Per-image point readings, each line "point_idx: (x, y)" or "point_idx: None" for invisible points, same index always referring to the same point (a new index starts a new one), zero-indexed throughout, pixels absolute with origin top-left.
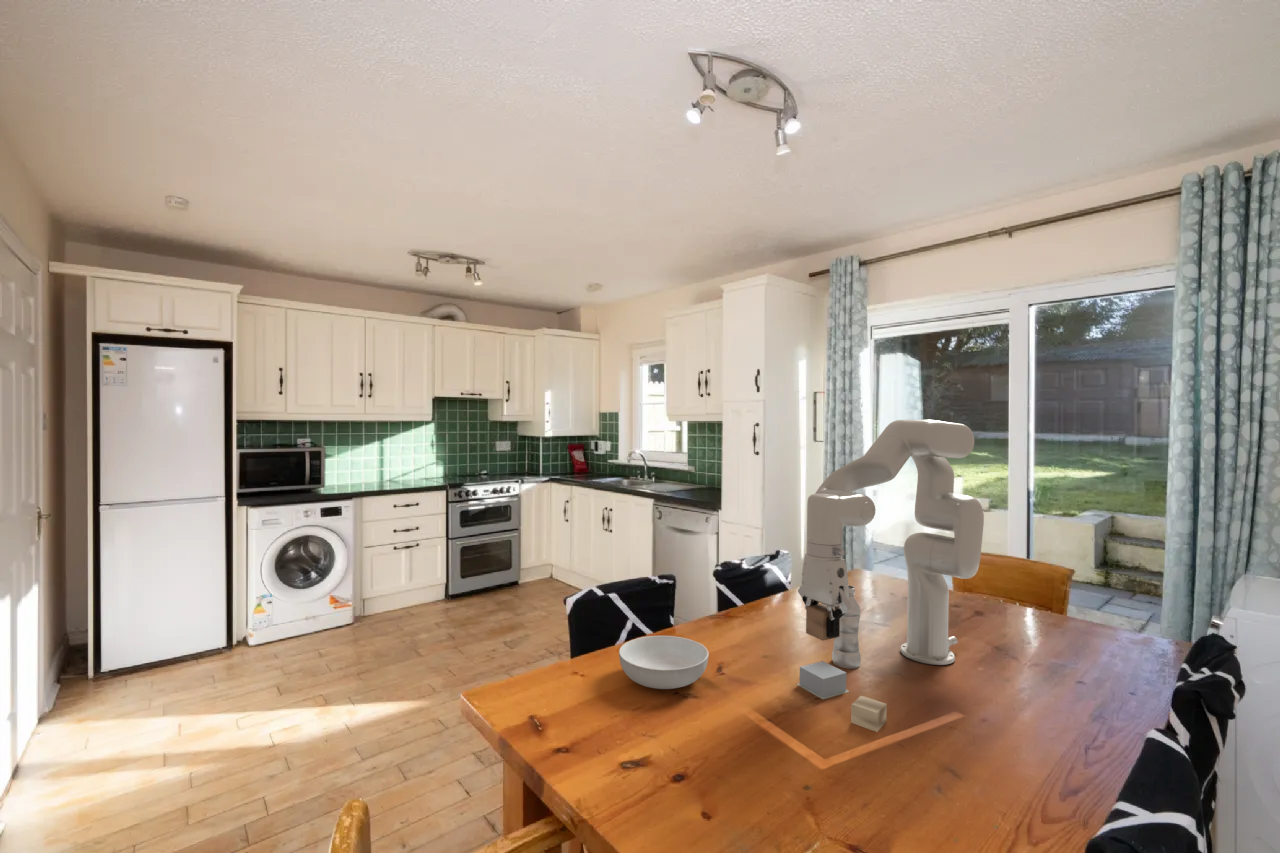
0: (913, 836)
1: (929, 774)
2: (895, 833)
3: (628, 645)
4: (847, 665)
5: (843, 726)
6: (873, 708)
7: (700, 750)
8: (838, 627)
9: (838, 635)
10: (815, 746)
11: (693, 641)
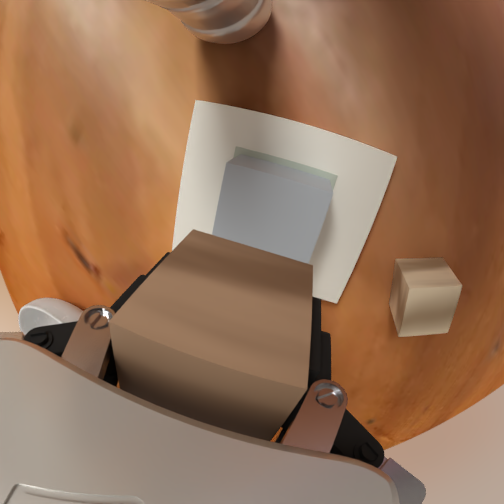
0: (462, 408)
1: (493, 329)
2: (449, 414)
3: None
4: (251, 34)
5: (374, 304)
6: (440, 323)
7: None
8: (328, 355)
9: (319, 299)
10: (354, 373)
11: (39, 310)
